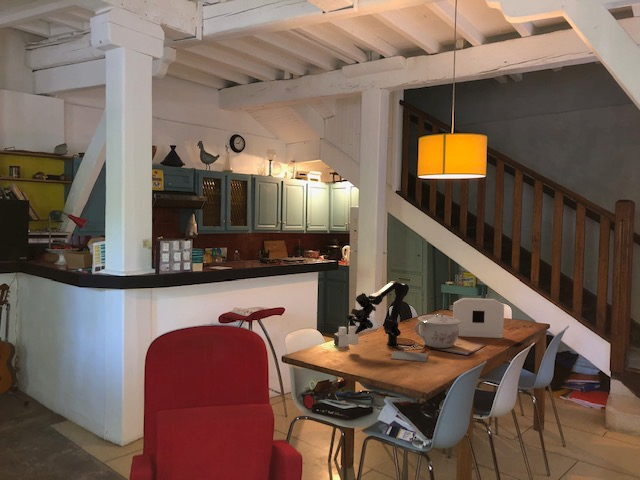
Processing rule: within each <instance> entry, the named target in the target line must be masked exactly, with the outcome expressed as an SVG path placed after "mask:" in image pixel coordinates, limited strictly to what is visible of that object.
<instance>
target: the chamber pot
mask: <svg viewBox="0 0 640 480" xmlns="http://www.w3.org/2000/svg"><path fill="white" fill-rule="evenodd" d="M416 319H417V322H416V323H415V325H414V332H415V334H416V335H417V336H418V337H419V338H420V339H421V340H422V341H423V343H424V345H426V346H428V347H431V348H434V349H448V348H451V347H452V346H454V345H455V343H456V342H457V340H458V339H459V336H458V335H459V327H458V324H460V323H461V322H462V321H461V320H460V319H458V318H455V317H453V316H452V315H451V316H450V315H447V314H446V315H444V314H443V313H442V312H439V313H436V314H425V315H421V316H418V317H417V318H416Z"/></svg>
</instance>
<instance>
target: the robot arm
mask: <svg viewBox="0 0 640 480" xmlns="http://www.w3.org/2000/svg"><path fill="white" fill-rule="evenodd" d="M409 290H410V287H409V285H408V284H407V283H402V282H401V283H400V282H397V281H393V280H392V281H389V282H388V284H386V285H384V287H382V288H380V290H378V291H376V292H374V293H371V294H369V295H368V296H367V294H366V293H364V292H362V293H361V294H359V295H357V296H356V298H355V301H356V303H357V304H358V305H359V306H360V308H362V309H360V308H359V309H356V308H352V309H351V312H350V314H347V315H346V317H345V318H346V320H347V321H348V323H349V324H348V328H347V332H348V331H349V326H357V324H356V323H359V324H358V328H357V330H356V332H355V334H358V333H361V332H363V331H364V330H365V331H366V330H368V329H372V328H373V327H374V324H373V322H372V321H371V319H370V318H371V317H370V315H371V314H372V312H376V311H377V309H376V306H379V305H380V304H381V303H382V301H383V300H384V298H385V297H386V296H388V295H389V294H390V293H391V292H392V291H394V294H395V297H394V301H393V305H392V307H391V311H390V314H389V318H388V319H385V320H384V324H383V330H384V333H385V335H386V334H387V342H386V345H387V346H398V345H397V342H398V337H399V336H401V334H402V332H401V330H400V329H399V323H398V322H399V321H398V318H399V316H400V312H401V311H400V310H401V308H402V305H403V301H404V298H405V297H406V296H408V293H409Z"/></svg>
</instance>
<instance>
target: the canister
mask: <svg viewBox="0 0 640 480" xmlns="http://www.w3.org/2000/svg"><path fill="white" fill-rule="evenodd" d="M358 327H359V325H356V326H349V325H348V328H349V331H348V330H347V332H348V334H347V335H348V344H349V345H352V346H353V345H354V346H355V345H359V333H360V332H359V333H358V334H355V332H356V330H357V328H358Z"/></svg>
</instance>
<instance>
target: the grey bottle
mask: <svg viewBox="0 0 640 480" xmlns="http://www.w3.org/2000/svg"><path fill="white" fill-rule="evenodd" d="M347 332H348V328H347V326H346V325H345V326H344V325H338V326H337V327H336V333H334V335H333V341H334V342H333V345H334V344H335V345H336V346H335V345H334V346H335V347H337V346H338V347H337V348H344V347H345V348H348V347H349V345H350V344H348V334H347Z"/></svg>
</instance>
